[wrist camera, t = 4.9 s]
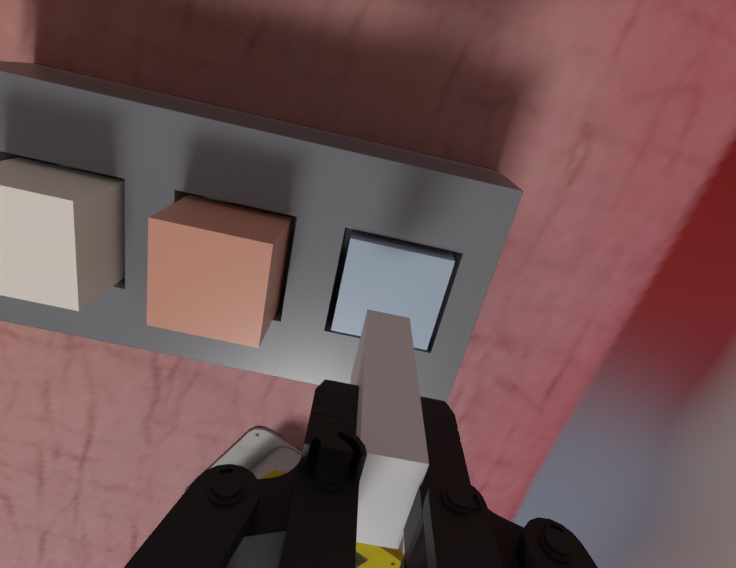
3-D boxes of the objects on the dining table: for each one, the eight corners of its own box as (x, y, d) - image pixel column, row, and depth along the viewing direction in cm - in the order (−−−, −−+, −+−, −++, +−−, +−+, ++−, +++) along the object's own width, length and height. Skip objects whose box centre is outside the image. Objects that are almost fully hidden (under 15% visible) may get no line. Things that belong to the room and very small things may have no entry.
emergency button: (333, 651, 32) (152, 548, 28) (339, 588, 36) (181, 490, 32) (428, 594, 29) (239, 469, 25) (423, 532, 33) (260, 416, 29)
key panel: (50, 278, 25) (-16, 317, 21) (33, 63, 21) (-55, 58, 17) (435, 358, 26) (444, 410, 22) (497, 170, 22) (523, 191, 18)
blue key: (338, 296, 23) (330, 330, 20) (355, 215, 22) (350, 238, 18) (421, 313, 24) (426, 350, 20) (445, 235, 22) (455, 261, 19)
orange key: (183, 287, 21) (146, 325, 18) (188, 194, 19) (148, 217, 16) (278, 307, 21) (258, 348, 18) (292, 217, 19) (272, 244, 16)
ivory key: (28, 255, 20) (-39, 287, 17) (18, 156, 19) (-58, 172, 15) (126, 275, 21) (78, 311, 17) (126, 180, 19) (73, 201, 16)
